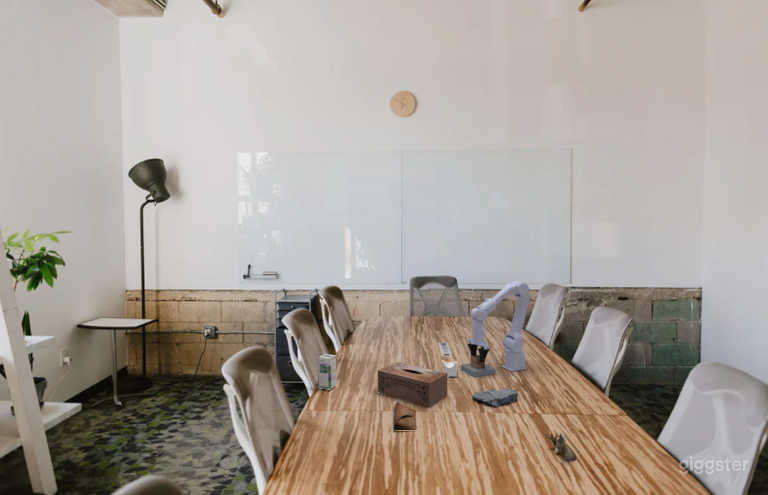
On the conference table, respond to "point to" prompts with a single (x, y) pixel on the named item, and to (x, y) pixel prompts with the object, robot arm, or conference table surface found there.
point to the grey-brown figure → (562, 446)
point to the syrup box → (327, 371)
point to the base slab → (478, 370)
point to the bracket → (450, 368)
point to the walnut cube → (477, 362)
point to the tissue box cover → (413, 383)
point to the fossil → (497, 396)
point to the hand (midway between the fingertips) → (478, 360)
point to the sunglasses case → (404, 417)
